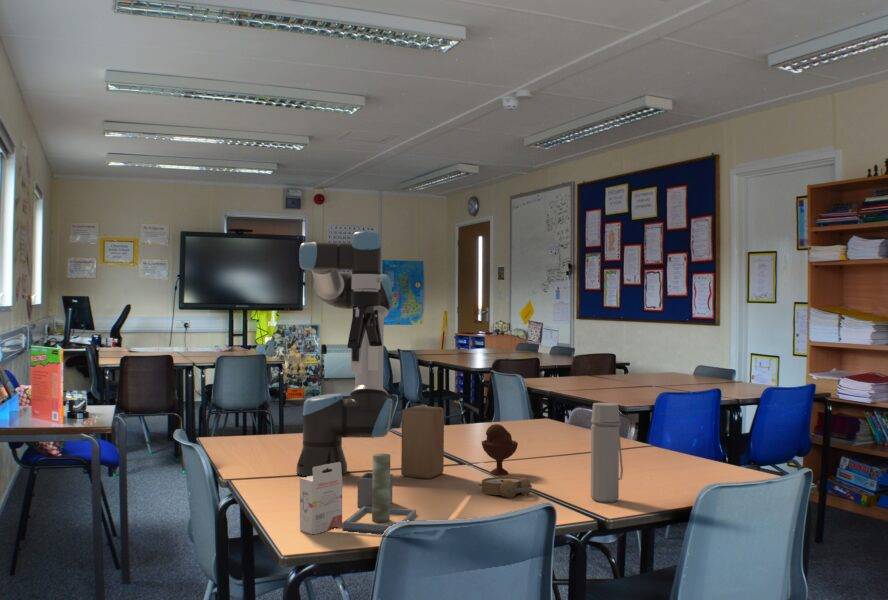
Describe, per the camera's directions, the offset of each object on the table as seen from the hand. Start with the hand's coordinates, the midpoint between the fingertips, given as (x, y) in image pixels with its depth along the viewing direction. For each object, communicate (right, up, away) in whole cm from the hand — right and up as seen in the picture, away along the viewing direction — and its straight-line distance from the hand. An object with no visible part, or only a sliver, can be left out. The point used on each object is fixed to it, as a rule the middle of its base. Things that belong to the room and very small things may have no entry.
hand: (365, 372), depth 192 cm
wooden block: (+14, -34, +28) cm, 46 cm away
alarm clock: (+38, -34, +7) cm, 51 cm away
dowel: (+6, -32, -24) cm, 40 cm away
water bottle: (+63, -34, +1) cm, 72 cm away
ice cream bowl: (+37, -34, +31) cm, 59 cm away
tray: (+6, -32, -25) cm, 41 cm away
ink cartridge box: (-7, -32, -28) cm, 43 cm away
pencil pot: (+4, -33, -11) cm, 34 cm away
